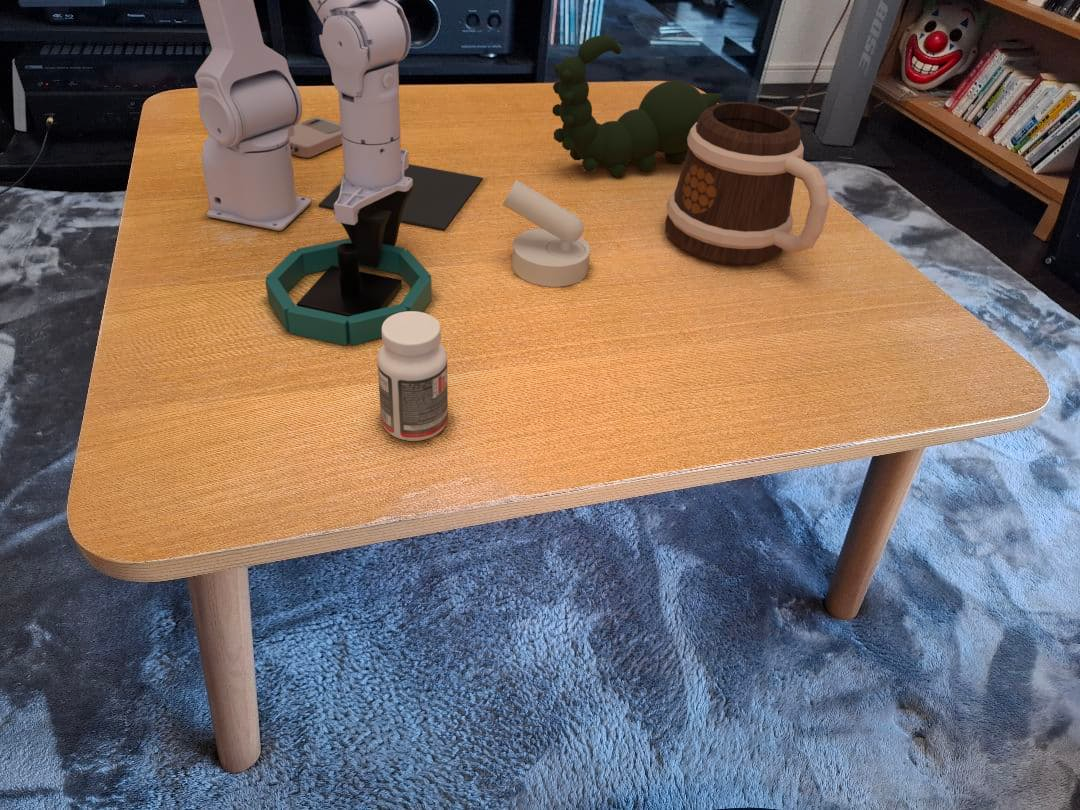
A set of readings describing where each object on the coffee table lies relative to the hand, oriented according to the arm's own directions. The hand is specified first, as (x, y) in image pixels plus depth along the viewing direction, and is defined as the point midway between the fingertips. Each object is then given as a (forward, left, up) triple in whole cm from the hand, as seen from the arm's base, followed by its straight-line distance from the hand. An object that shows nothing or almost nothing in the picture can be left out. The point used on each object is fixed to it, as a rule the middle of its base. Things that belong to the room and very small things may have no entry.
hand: (377, 255), depth 93 cm
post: (0, -7, -1) cm, 7 cm away
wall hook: (+17, +7, -2) cm, 18 cm away
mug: (+38, +20, -2) cm, 43 cm away
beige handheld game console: (-21, +27, -2) cm, 34 cm away
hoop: (0, -7, -1) cm, 7 cm away
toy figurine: (+22, +38, -2) cm, 44 cm away
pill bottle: (+13, -23, -2) cm, 27 cm away
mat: (-4, +18, -1) cm, 18 cm away
